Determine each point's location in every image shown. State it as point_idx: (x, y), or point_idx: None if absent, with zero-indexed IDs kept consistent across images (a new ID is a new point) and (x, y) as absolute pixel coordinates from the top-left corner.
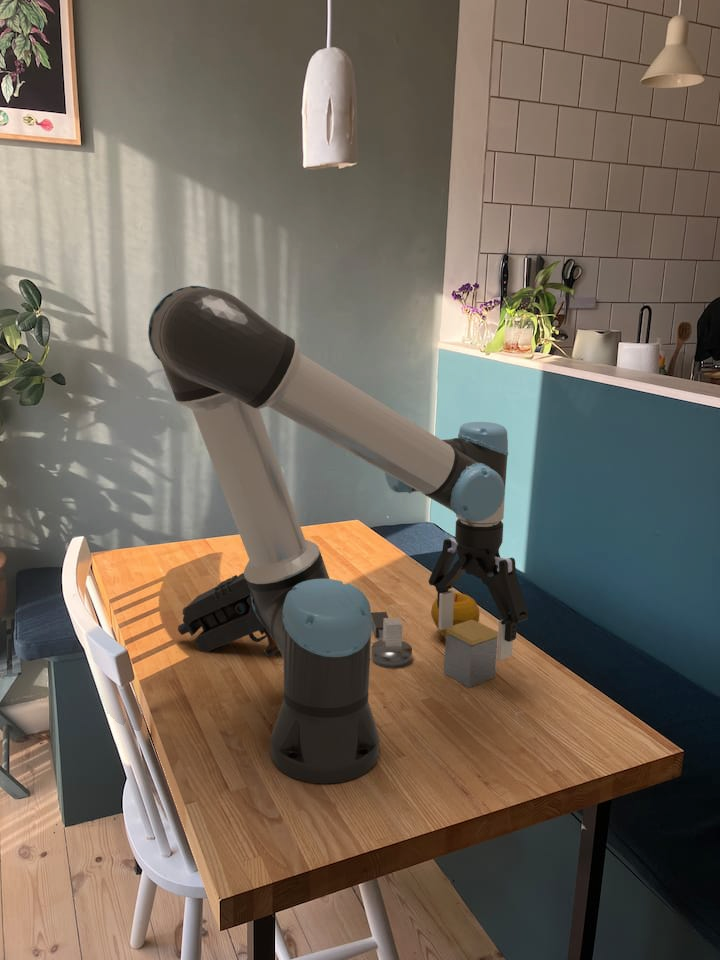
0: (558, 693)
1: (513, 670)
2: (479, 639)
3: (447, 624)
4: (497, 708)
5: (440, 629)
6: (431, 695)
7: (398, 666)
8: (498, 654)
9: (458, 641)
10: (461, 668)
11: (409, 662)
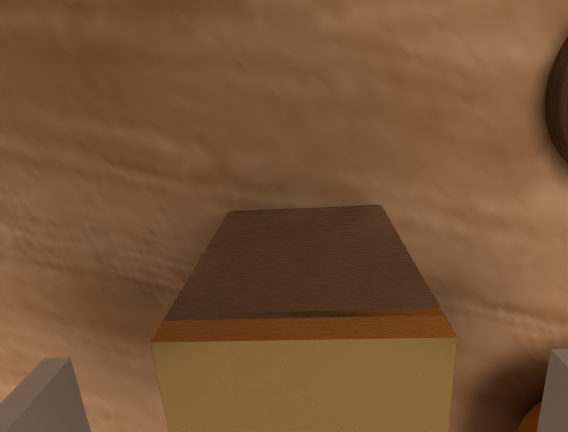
0: None
1: None
2: (165, 401)
3: (560, 415)
4: (54, 197)
5: (561, 351)
6: (256, 24)
7: (562, 52)
8: (39, 379)
9: (301, 304)
10: (272, 234)
11: (552, 131)
